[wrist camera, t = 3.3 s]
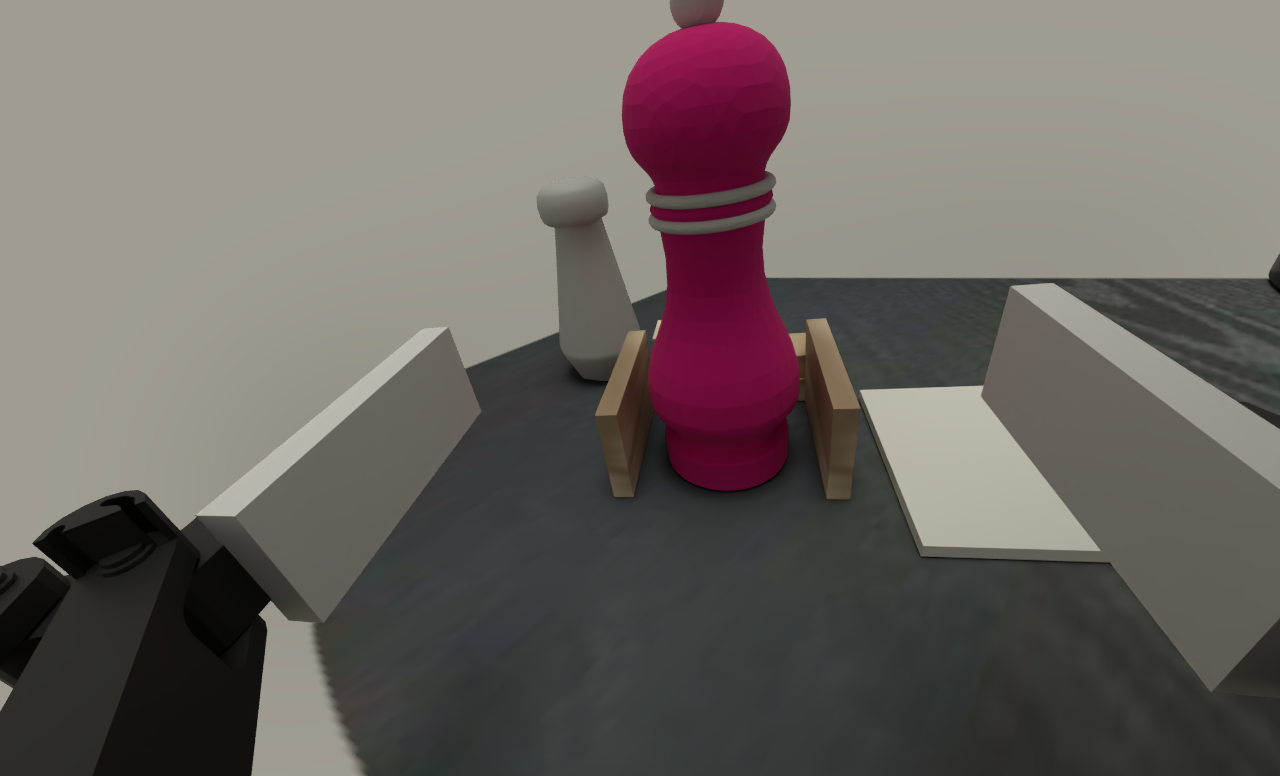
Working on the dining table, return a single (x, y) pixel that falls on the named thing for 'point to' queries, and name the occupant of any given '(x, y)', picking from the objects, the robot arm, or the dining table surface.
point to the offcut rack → (821, 389)
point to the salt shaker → (586, 276)
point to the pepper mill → (715, 244)
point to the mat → (969, 479)
